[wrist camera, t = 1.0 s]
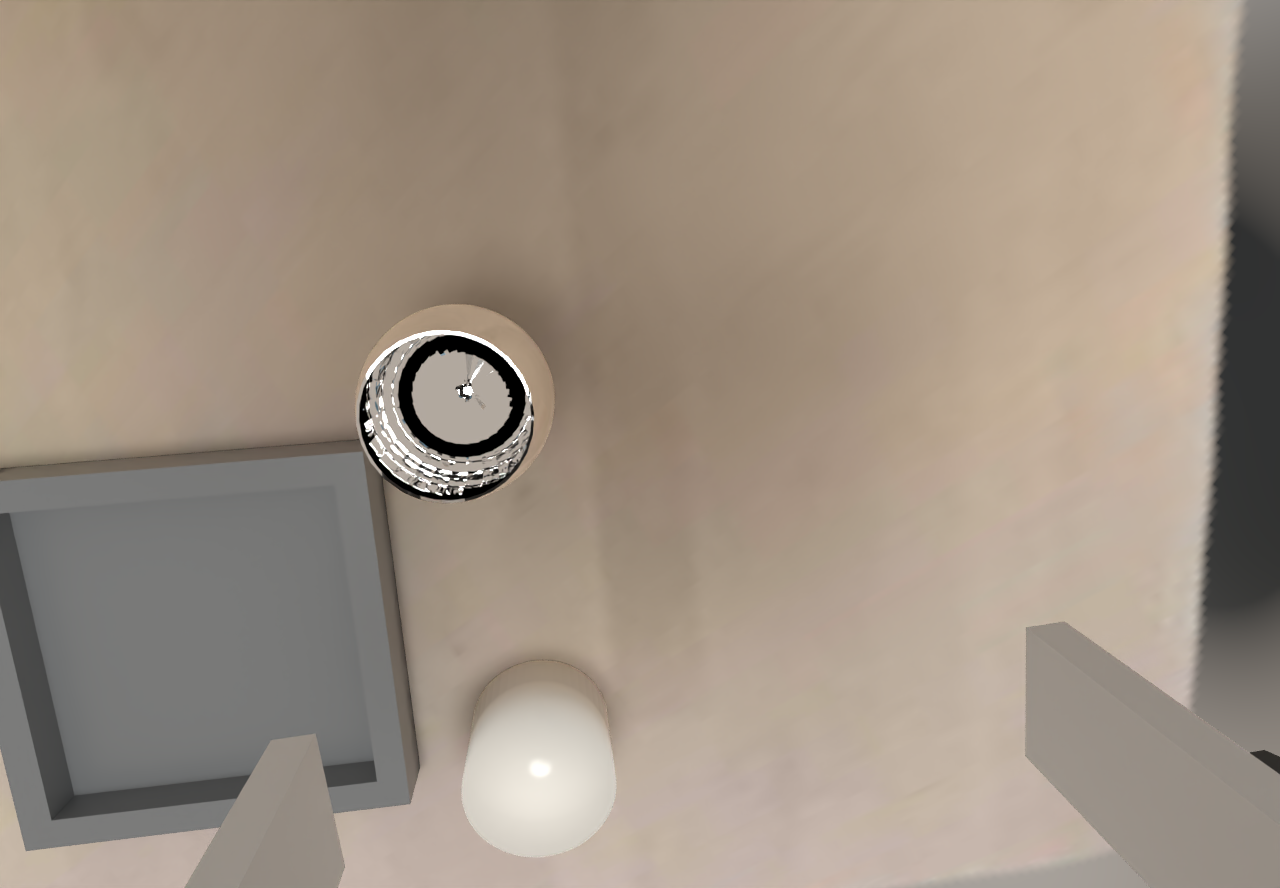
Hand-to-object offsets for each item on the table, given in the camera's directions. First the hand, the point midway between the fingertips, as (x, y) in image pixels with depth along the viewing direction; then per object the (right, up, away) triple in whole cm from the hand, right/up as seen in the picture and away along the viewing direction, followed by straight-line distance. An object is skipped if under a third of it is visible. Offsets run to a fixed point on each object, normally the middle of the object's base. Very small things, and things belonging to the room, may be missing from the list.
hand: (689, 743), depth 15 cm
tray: (-19, -2, +19) cm, 27 cm away
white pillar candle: (-5, -7, +22) cm, 23 cm away
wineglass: (-7, +9, +18) cm, 22 cm away
